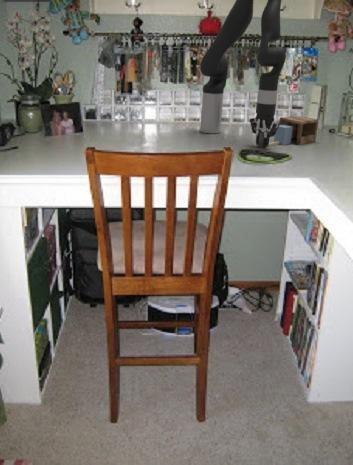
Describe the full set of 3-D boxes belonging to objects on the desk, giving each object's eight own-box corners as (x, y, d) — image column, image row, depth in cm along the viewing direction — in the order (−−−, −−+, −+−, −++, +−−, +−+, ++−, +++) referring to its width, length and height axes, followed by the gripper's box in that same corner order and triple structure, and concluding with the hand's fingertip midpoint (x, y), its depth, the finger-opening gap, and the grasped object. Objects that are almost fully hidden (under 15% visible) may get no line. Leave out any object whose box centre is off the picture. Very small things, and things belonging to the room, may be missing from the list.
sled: (280, 141, 201) (283, 124, 198) (290, 143, 198) (292, 126, 195) (254, 146, 190) (256, 129, 187) (264, 148, 187) (266, 131, 184)
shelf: (293, 136, 210) (296, 115, 207) (315, 141, 203) (318, 119, 199) (277, 139, 203) (279, 117, 200) (298, 144, 196) (301, 121, 192)
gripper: (287, 103, 180) (281, 148, 187) (259, 98, 189) (254, 141, 196) (274, 105, 175) (269, 150, 182) (246, 100, 185) (242, 143, 192)
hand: (261, 145), depth 189 cm, fingers closed on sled, 3 cm apart
